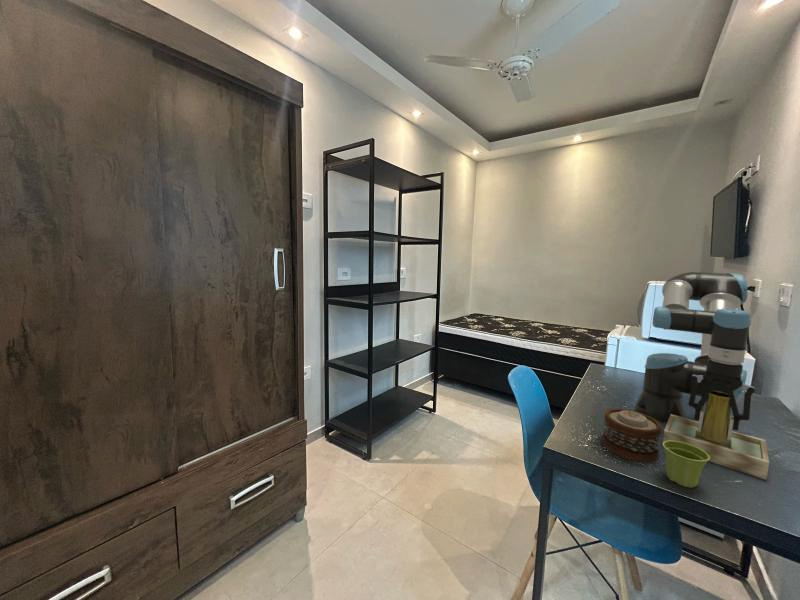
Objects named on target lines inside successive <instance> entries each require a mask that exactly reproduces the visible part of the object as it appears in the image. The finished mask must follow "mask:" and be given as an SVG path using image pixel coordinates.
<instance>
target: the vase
mask: <svg viewBox="0 0 800 600" xmlns="http://www.w3.org/2000/svg"><path fill="white" fill-rule="evenodd" d="M730 398H731V397H728V394H727V393H724V392H720V391H713V392H712V393H709V398H708V400H707V401H706V403H705V409H704V415H703V422H702V428H701V432H700V435H701V436H702V437H703V438H705V439H707V440H709V441H712V442H716V443H727V435H728V427H729V421H730V416H731V415H730V414H731V405H730Z"/></svg>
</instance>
